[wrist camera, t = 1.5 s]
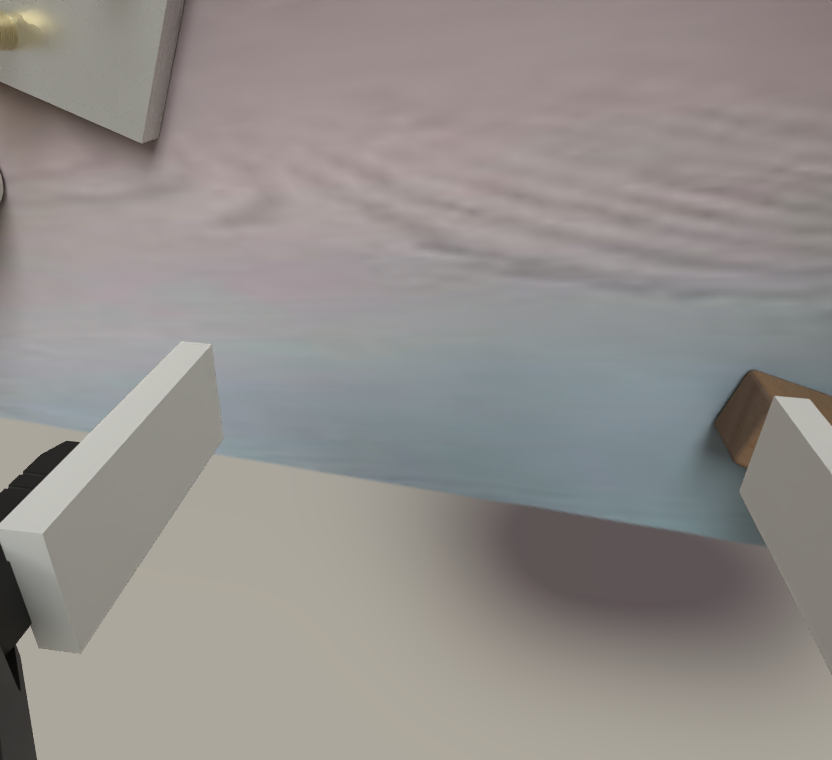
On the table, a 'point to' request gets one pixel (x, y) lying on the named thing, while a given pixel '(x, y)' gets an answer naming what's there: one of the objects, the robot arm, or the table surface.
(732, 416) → the wooden block
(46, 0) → the peg board
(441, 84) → the table surface
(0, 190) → the supplement bottle
